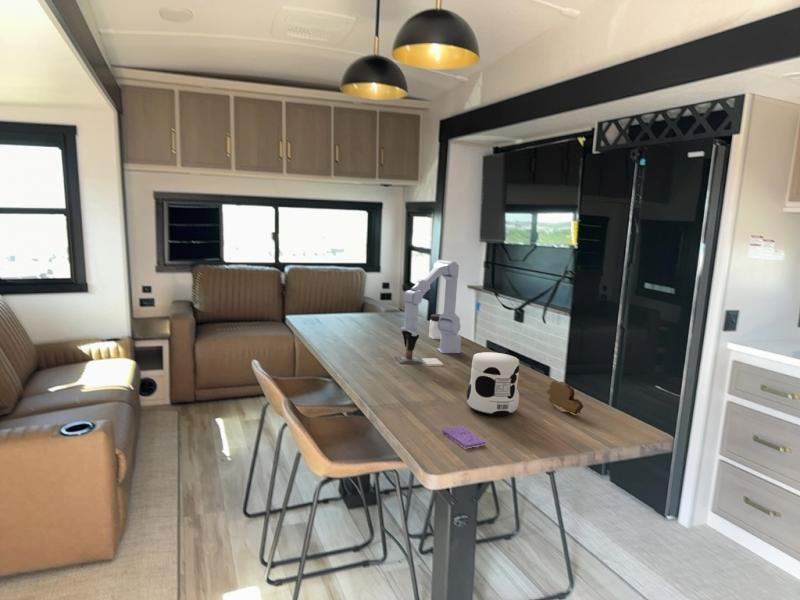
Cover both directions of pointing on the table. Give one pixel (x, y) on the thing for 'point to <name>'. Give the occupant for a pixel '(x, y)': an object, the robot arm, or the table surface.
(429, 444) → the table surface
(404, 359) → the turner
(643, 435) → the table surface
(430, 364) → the tile
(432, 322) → the jar
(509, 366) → the milk container
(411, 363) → the mat
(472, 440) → the sponges
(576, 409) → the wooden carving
